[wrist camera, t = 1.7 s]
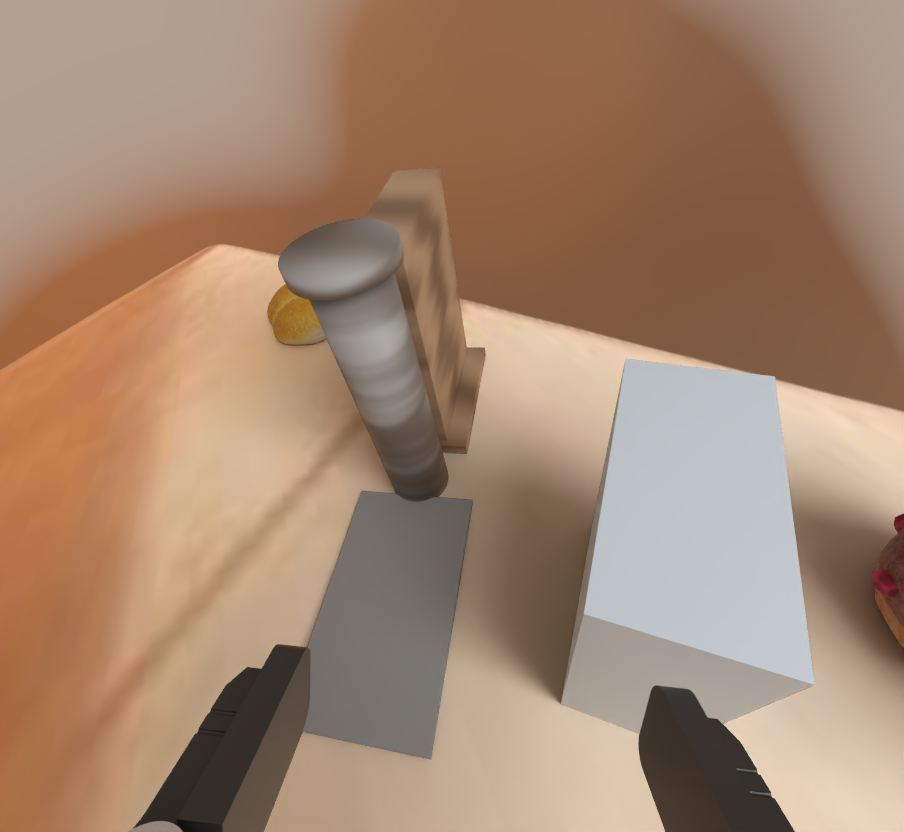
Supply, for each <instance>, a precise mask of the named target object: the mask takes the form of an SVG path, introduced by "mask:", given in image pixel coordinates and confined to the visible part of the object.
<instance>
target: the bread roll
mask: <svg viewBox="0 0 904 832" xmlns="http://www.w3.org/2000/svg"><path fill="white" fill-rule="evenodd" d="M268 317H269V320H270V323H271V324H272V326H273V327H274V334H275V337H276V338H277V339H278V340H279V341H280V342H282V343H284V344H291V345H303V344H314V343H317V342H320V341H323V340H325V339H327V338H326V336H325V334H324V332H323V329H322V327H321V325H320V323H319V321H318V318H317V316H316V314H315V312H314V309H313V307H312V305H311V303H310V301H309V299H304V298H301V297H299V296H297V295H295V294H293V293H292V292H291V291H290V290H289V289H288V287H287V285H286V284H285V285H284V286H282V287H281V288H280V289H279V290H278V291H277V292H276V294H275V295H274V296H273V298H272V300H271V302H270V303H269V306H268Z"/></svg>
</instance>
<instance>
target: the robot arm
mask: <svg viewBox="0 0 904 832" xmlns="http://www.w3.org/2000/svg"><path fill="white" fill-rule="evenodd" d="M310 661H311V653H310V649H309V648H307V647H298V646H289V645H280V644H278V645H276V646H275V647H274V648H273V650H272V652H271V653H270V655H269V657H268V659H267V660H266V662H265V664H264V666H263V667H262V669H259V668H250V667H247V668H246V669H245V670H243V671H242V672H241V673H240V674H239V675H238V676H236V677H235V678H234V679H233V680H232V681H231V682H229V683H228V684H227V685H226V686H225V688H224V689H223V691H222V693H221V694H220V696H219V697H218V699H217V700H216V702H215V704H214V705H213V707H212V708H211V712H210V714H208V715H207V716H206V718H205V719H204V721H203V723H202V724H201V726H200V727H199V730H198V733H197V734H195V735H194V737H193V738H192V740H191V741H190V743H189V745H188V746H187V748H186V749H185V751H184V753H183V754H182V756H181V757H180V759H179V760H178V762H177V764H176V765H175V767H174V768H173V770H172V771H171V773H170V775H169V776H168V778H167V779H166V781H165V783H164V784H163V786H162V787H161V789H160V790H159V792H158V794H157V795H156V797H155V798H154V800H153V801H152V803H151V805H150V806H149V808H148V809H147V811H146V812H145V814H144V815H143V817H142V818H141V820H140V821H139V822H138V823H137V824H136V826H135V827H134V828H133V829H132V830H130V831H128V832H264V830H265V827H266V825H267V822H268V819H269V817H270V814H271V812H272V809H273V807H274V804H275V801H276V799H277V796H278V794H279V791H280V789H281V786H282V783H283V781H284V778H285V776H286V773H287V771H288V768H289V765H290V763H291V760H292V758H293V755H294V753H295V750H296V747H297V745H298V742H299V740H300V737H301V735H302V732H303V729H304V726H305V723H306V719H307V715H308V710H309V703H310ZM639 755H640V761H641V765H642V768H643V771H644V774H645V777H646V779H647V782H648V785H649V788H650V790H651V793H652V796H653V799H654V801H655V804H656V807H657V810H658V812H659V815H660V818H661V821H662V823H663V826H664V829H665V832H795V831H794V830H793V828H792V826H791V825H790V823H789V821H788V820H787V818H786V816H785V815H784V813H783V812H782V810H781V808H780V807H779V805H778V803H777V802H776V800H775V798H772V797H771V792H770V790H769V788H768V787H767V785H766V784H765V782H764V780H763V779H762V777H761V775H758V773H757V769H756V767H755V765H754V764H753V762H752V760H751V759H750V757H749V756H748V754H747V752H746V751H745V749H744V747H743V746H742V744H741V742H740V741H739V740H738V739H737V738H736V737H735V736H734V735H733V734H732V733H731V732H730V731H729V730H728V729H727V728H726V727H725V726H724V725H723V724H722V723H721V722H720V721H719V720H718V719H715V718H708V717H707V715H706V714H705V712H704V710H703V708H702V707H701V705H700V703H699V701H698V699H697V698H696V696H695V694H694V693H693V692H692V691H691V690H689V689H684V688H675V687H666V686H658V685H655V686H654V687H653V688H652V689H651V692H650V696H649V700H648V704H647V707H646V711H645V715H644V719H643V722H642V726H641V730H640V734H639Z"/></svg>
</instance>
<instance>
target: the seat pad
mask: <svg viewBox="0 0 904 832" xmlns="http://www.w3.org/2000/svg"><path fill="white" fill-rule="evenodd" d="M472 503H473V502H472V500H467V499H455V498H443V497H432V498H430V499H428V500H425V501H420V502H413V501H408V500H405V499H403V498H402V497H400V496H399V495H398V494H394V493H382V492H369V491H362V492H361V495H360V497H359V500H358V503H357V506H356V509H355V512H354V515H353V517H352V520H351V523H350V526H349V529H348V532H347V535H346V538H345V540H344V543H343V546H342V549H341V552H340V555H339V558H338V560H337V563H336V566H335V569H334V572H333V575H332V578H331V580H330V583H329V586H328V589H327V592H326V595H325V598H324V601H323V603H322V606H321V609H320V612H319V615H318V618H317V621H316V623H315V626H314V629H313V632H312V635H311V638H310V641H309V643H308V646H307V648H309V649H310V653H311V661H310V703H309V710H308V715H307V719H306V723H305V726H304V729H303V732H307V733H312V734H316V735H321V736H326V737H330V738H335V739H339V740H344V741H349V742H353V743H358V744H362V745H367V746H372V747H376V748H381V749H385V750H390V751H394V752H399V753H404V754H408V755H413V756H417V757H422V758H427V759H431V756H432V749H433V743H434V737H435V731H436V725H437V719H438V712H439V706H440V700H441V694H442V688H443V682H444V675H445V669H446V663H447V657H448V651H449V645H450V638H451V632H452V626H453V620H454V614H455V608H456V601H457V595H458V589H459V583H460V577H461V571H462V565H463V558H464V552H465V546H466V540H467V534H468V528H469V521H470V515H471V509H472Z"/></svg>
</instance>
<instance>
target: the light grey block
mask: <svg viewBox="0 0 904 832" xmlns="http://www.w3.org/2000/svg"><path fill="white" fill-rule="evenodd" d="M655 685H658V686H666V687H675V688H684V689H689V690H691V691H692V692H693V693H694V694H695V696H696V698H697V699H698V701H699V703H700V705H701V707H702V708H703V710H704V712H705V714H706V715H707V717H708V718H715V719H718V720H719V721H720V722H721V723H722V724H724V723H726V722H728V721H731V720H733V719H735V718H738V717H740V716H743V715H745V714H747V713H750V712H752V711H754V710H757V709H759V708H761V707H764V706H766V705H769V704H771V703H773V702H776V701H778V700H780V699H783V698H785V697H787V696H790V695H792V694H795V693H797V692H799V691H802V690H804V689H806V688H809V687H811V686H813V685H815V683H814V676H813V668H812V660H811V652H810V645H809V637H808V629H807V621H806V614H805V606H804V598H803V591H802V583H801V575H800V567H799V560H798V552H797V544H796V536H795V529H794V521H793V513H792V506H791V498H790V490H789V482H788V475H787V467H786V459H785V451H784V444H783V436H782V428H781V421H780V413H779V405H778V397H777V390H776V382H775V377H773V376H765V375H756V374H748V373H740V372H731V371H723V370H715V369H707V368H698V367H690V366H682V365H673V364H665V363H657V362H648V361H640V360H632V359H626V360H625V365H624V370H623V375H622V380H621V384H620V389H619V394H618V399H617V404H616V409H615V414H614V419H613V424H612V429H611V434H610V439H609V444H608V448H607V453H606V458H605V463H604V468H603V473H602V478H601V483H600V488H599V493H598V498H597V503H596V508H595V513H594V517H593V522H592V528H591V533H590V539H589V545H588V550H587V556H586V562H585V568H584V573H583V579H582V585H581V591H580V596H579V602H578V608H577V614H576V619H575V625H574V631H573V637H572V642H571V648H570V654H569V660H568V665H567V671H566V677H565V683H564V688H563V694H562V700H561V704H562V705H564V706H567V707H570V708H572V709H575V710H578V711H580V712H583V713H586V714H588V715H591V716H593V717H596V718H599V719H601V720H604V721H607V722H609V723H612V724H615V725H617V726H620V727H623V728H625V729H628V730H630V731H633V732H636V733H638V734H640V730H641V726H642V722H643V719H644V715H645V711H646V707H647V704H648V700H649V696H650V692H651V689H652V688H653V687H654V686H655Z"/></svg>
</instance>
